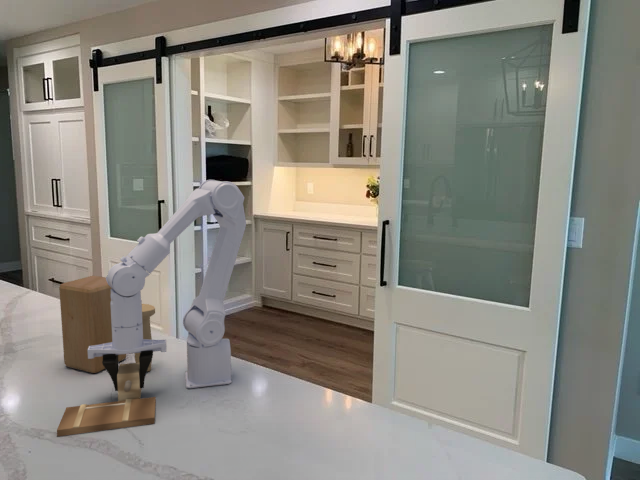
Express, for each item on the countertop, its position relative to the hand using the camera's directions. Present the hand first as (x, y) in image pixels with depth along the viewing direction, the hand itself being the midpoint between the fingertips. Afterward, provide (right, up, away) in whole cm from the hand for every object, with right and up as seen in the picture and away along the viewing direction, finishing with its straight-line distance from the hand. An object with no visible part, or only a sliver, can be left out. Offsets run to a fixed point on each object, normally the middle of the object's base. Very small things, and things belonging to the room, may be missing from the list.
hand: (129, 387), depth 96 cm
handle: (-2, 0, +13) cm, 13 cm away
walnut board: (-1, -3, -8) cm, 8 cm away
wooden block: (-14, +1, +16) cm, 22 cm away
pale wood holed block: (0, -2, -1) cm, 2 cm away
